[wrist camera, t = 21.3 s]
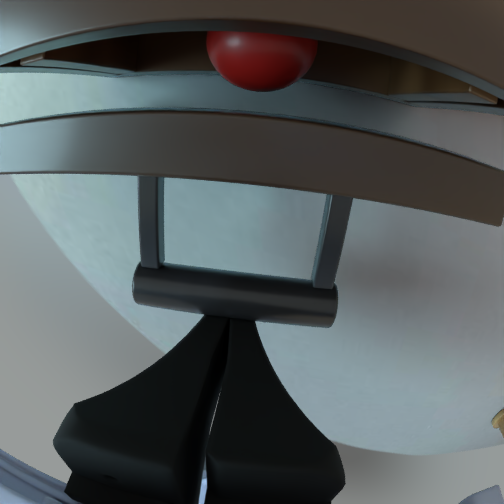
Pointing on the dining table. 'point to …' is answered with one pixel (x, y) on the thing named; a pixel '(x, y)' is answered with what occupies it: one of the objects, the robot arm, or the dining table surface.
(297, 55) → the ball
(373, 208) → the dining table surface
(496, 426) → the flanged wooden peg
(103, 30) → the cabinet
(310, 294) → the drawer
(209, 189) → the dining table surface
